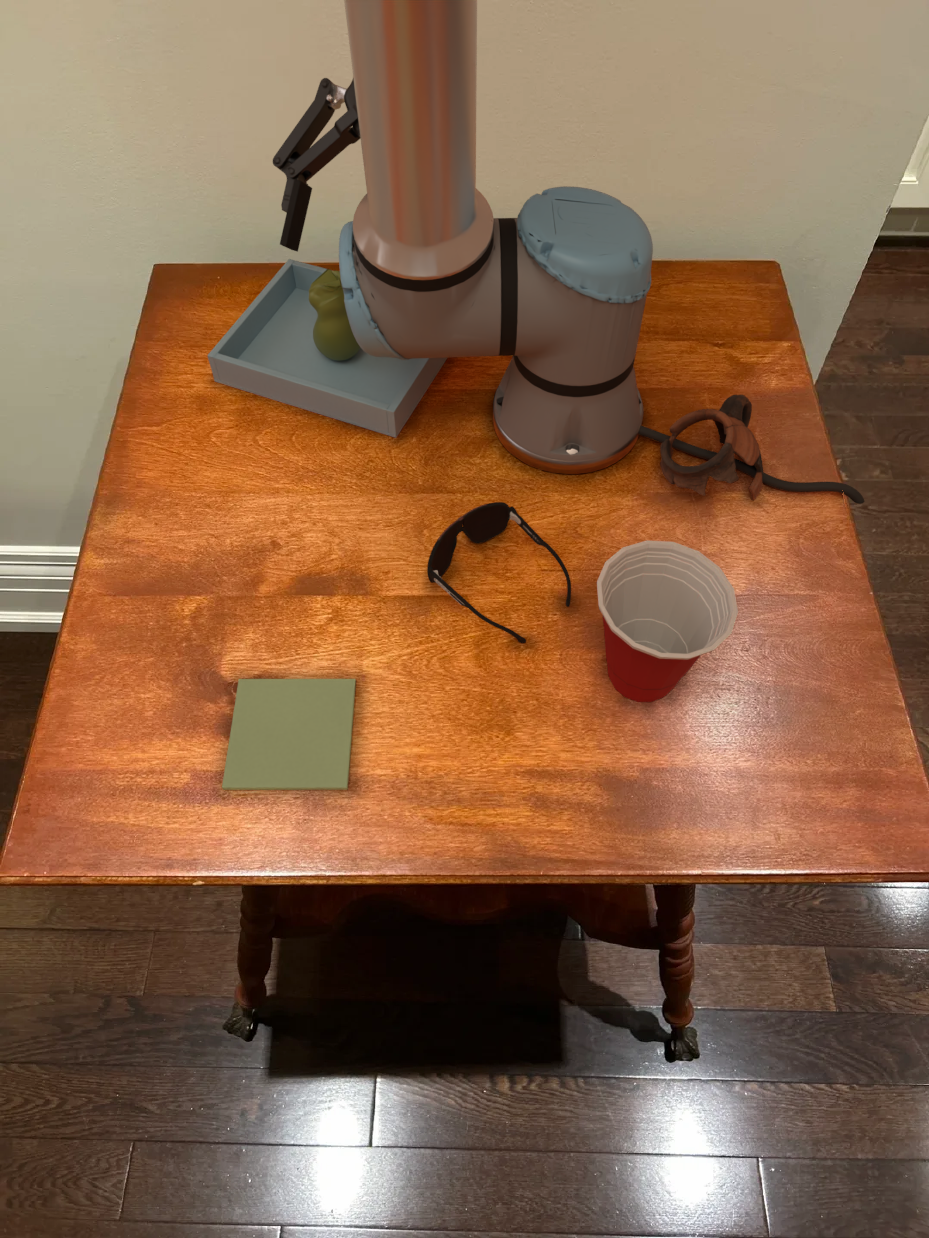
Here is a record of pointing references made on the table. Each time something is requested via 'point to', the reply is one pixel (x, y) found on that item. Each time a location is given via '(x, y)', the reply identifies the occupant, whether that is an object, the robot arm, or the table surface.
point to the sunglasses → (479, 529)
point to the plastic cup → (661, 615)
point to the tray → (315, 361)
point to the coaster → (291, 735)
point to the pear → (331, 318)
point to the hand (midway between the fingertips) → (346, 264)
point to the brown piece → (722, 465)
